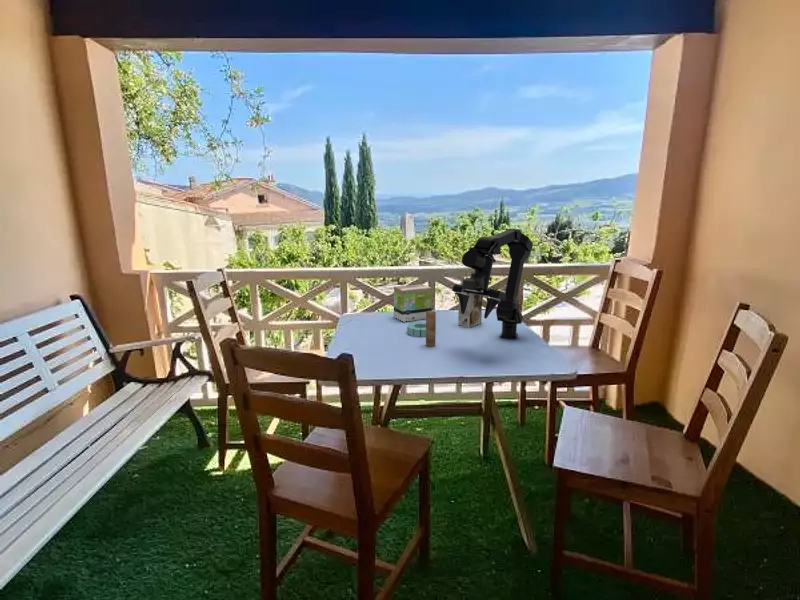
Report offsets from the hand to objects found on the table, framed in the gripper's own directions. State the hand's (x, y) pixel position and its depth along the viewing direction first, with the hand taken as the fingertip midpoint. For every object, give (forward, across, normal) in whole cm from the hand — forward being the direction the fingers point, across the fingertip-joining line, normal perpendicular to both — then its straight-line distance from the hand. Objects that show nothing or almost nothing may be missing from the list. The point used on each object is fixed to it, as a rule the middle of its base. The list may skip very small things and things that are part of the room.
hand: (473, 316), depth 160 cm
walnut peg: (+14, -17, +3) cm, 22 cm away
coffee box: (+4, -21, +34) cm, 40 cm away
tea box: (+6, -47, +27) cm, 55 cm away
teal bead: (+11, -30, +12) cm, 34 cm away
